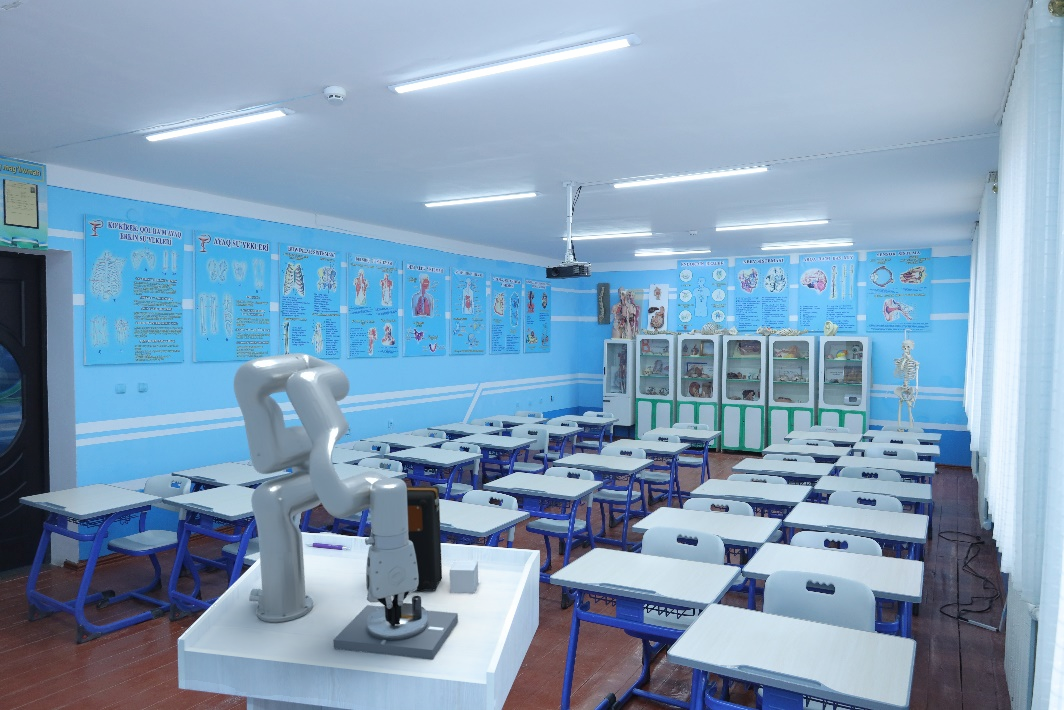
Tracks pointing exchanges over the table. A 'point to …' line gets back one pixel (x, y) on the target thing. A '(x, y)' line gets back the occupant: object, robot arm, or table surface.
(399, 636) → the dial
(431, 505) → the voltmeter
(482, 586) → the table surface
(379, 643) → the grey base plate
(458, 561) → the light grey cube
